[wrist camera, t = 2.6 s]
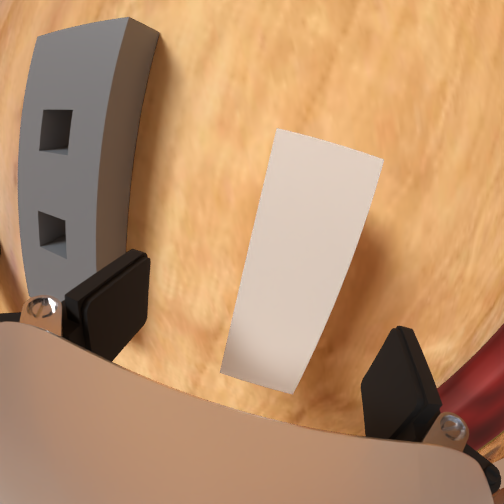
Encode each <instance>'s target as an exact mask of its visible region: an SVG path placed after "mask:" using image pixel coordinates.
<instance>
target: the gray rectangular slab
mask: <svg viewBox="0 0 504 504" xmlns="http://www.w3.org/2000/svg"><path fill="white" fill-rule="evenodd" d="M159 33H160V32H158V31H156V30H154V29H152V28H150V27H148V26H146V25H144V24H142V23H140V22H138V21H136V20H134V19H132V18H130V17H126V18H118V19H111V20H105V21H100V22H94V23H89V24H84V25H80V26H75V27H71V28H67V29H63V30H59V31H55V32H52V33H48V34H45V35H42V36H38V37H37V41H36V44H35V48H34V52H33V56H32V60H31V65H30V69H29V74H28V79H27V85H26V90H25V96H24V103H23V110H22V118H21V127H20V139H19V155H18V210H19V226H20V238H21V247H22V256H23V263H24V270H25V276H26V282H27V288H28V293H29V296H30V297H31V298H32V297H35V296H38V295H50V296H53V297H55V298H57V299H59V301H60V302H62V301H63V300H65V296H64V295H65V294H66V293H68V292H69V291H70V290H72V289H73V288H75V287H76V286H78V285H79V284H80V283H82V282H83V281H85V280H86V279H88V278H89V277H91V276H92V275H93V274H95V273H96V272H98V271H99V270H101V269H102V268H104V267H105V266H107V265H108V264H110V263H111V262H113V261H114V260H116V259H117V258H119V257H120V256H122V255H123V254H125V253H126V238H127V221H128V208H129V196H130V186H131V177H132V168H133V160H134V153H135V146H136V139H137V133H138V127H139V121H140V115H141V110H142V105H143V99H144V94H145V90H146V85H147V80H148V76H149V72H150V67H151V63H152V59H153V55H154V51H155V48H156V44H157V40H158V37H159Z"/></svg>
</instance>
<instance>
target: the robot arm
mask: <svg viewBox="0 0 504 504" xmlns="http://www.w3.org/2000/svg"><path fill="white" fill-rule="evenodd" d="M149 275H150V258H147V254H146V253H144V252H141V251H138V250H135V249H131V250H130V251H128V252H126V253H125V254H123V255H122V256H120V257H119V258H117V259H116V260H114V261H113V262H111V263H110V264H108V265H107V266H105V267H104V268H102V269H101V270H99V271H98V272H96V273H95V274H93V275H92V276H91V277H89V278H88V279H86V280H85V281H83V282H82V283H80V284H79V285H78V286H76V287H75V288H73V289H72V290H70V291H69V292H68V293H66V294H65V295H64V296H65V300H63V301H62V302H60V301H59V299H57V298H55V297H53V296H50V295H38V296H35V297H32V298H30V299H28V300H27V301H26V302H25V303H24V305H23V307H22V312H19V313H2V314H0V504H504V488H502V489H501V490H500V489H499V487H500V484H501V476H500V473H499V470H498V469H497V467H495V466H494V465H493V464H492V463H491V462H489V461H488V460H487V459H485V458H484V457H483V456H482V455H480V454H479V453H478V452H477V451H475V450H474V449H473V448H472V447H470V446H469V445H468V444H467V440H468V437H469V429H468V427H467V424H466V423H465V422H464V420H463V419H462V418H461V417H460V416H458V415H456V414H454V413H451V412H443V413H441V412H440V408H441V406H442V405H443V404H442V401H441V399H440V396H439V393H438V390H437V388H436V385H435V382H434V380H433V377H432V374H431V372H430V369H429V367H428V364H427V362H426V359H425V357H424V354H423V352H422V350H421V347H420V345H419V343H418V340H417V338H416V336H415V333H414V331H413V329H411V328H407V327H403V326H397V327H396V329H395V328H393V329H392V330H391V331H390V333H389V335H388V337H387V338H386V340H385V342H384V344H383V346H382V348H381V349H380V351H379V353H378V355H377V356H376V358H375V360H374V361H373V363H372V365H371V367H370V368H369V370H368V372H367V373H366V375H365V376H364V378H363V380H362V383H361V393H362V402H363V412H364V422H365V434H366V437H364V436H357V435H350V434H343V433H337V432H331V431H325V430H320V429H315V428H309V427H305V426H300V425H295V424H291V423H286V422H282V421H278V420H274V419H270V418H266V417H262V416H258V415H254V414H251V413H247V412H244V411H240V410H237V409H233V408H230V407H227V406H224V405H220V404H217V403H214V402H211V401H208V400H205V399H202V398H199V397H196V396H194V395H191V394H188V393H185V392H182V391H180V390H177V389H174V388H172V387H169V386H167V385H164V384H162V383H159V382H157V381H154V380H152V379H149V378H147V377H145V376H142V375H140V374H138V373H135V372H133V371H131V370H129V369H126V368H124V367H122V366H120V365H118V364H115V363H113V362H112V361H113V360H114V359H115V357H116V356H117V355H118V354H119V353H120V352H121V350H122V349H123V348H124V347H125V346H126V345H127V343H128V342H129V341H130V340H131V339H132V338H133V337H134V335H135V334H136V333H137V332H138V331H139V330H140V329H141V327H142V326H143V325H144V324H145V322H146V319H147V310H148V290H149Z"/></svg>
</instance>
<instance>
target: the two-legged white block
mask: <svg viewBox="0 0 504 504" xmlns="http://www.w3.org/2000/svg"><path fill="white" fill-rule="evenodd" d="M383 162H384V159H381V158H378V157H375V156H372V155H369V154H366V153H363V152H360V151H357V150H354V149H351V148H348V147H345V146H341V145H338V144H335V143H331V142H328V141H325V140H321V139H317V138H314V137H310V136H306V135H303V134H299V133H295V132H291V131H287V130H283V129H278V128H277V130H276V134H275V138H274V142H273V146H272V151H271V155H270V159H269V163H268V168H267V172H266V176H265V180H264V184H263V189H262V193H261V197H260V201H259V206H258V210H257V214H256V218H255V223H254V227H253V231H252V236H251V240H250V244H249V248H248V253H247V257H246V261H245V266H244V270H243V274H242V278H241V283H240V287H239V291H238V296H237V300H236V304H235V309H234V313H233V317H232V322H231V326H230V330H229V335H228V339H227V343H226V348H225V352H224V357H223V361H222V365H221V370H220V373H222V374H225V375H228V376H231V377H234V378H237V379H240V380H244V381H247V382H250V383H253V384H257V385H260V386H263V387H267V388H270V389H274V390H278V391H281V392H285V393H289V394H293V393H294V391H295V389H296V387H297V385H298V383H299V381H300V379H301V377H302V375H303V373H304V371H305V369H306V367H307V365H308V363H309V360H310V358H311V356H312V354H313V352H314V350H315V347H316V345H317V343H318V341H319V339H320V336H321V334H322V332H323V330H324V327H325V325H326V323H327V320H328V318H329V316H330V313H331V311H332V309H333V306H334V304H335V301H336V299H337V296H338V294H339V291H340V289H341V286H342V284H343V281H344V279H345V276H346V274H347V271H348V268H349V266H350V263H351V260H352V258H353V255H354V252H355V249H356V247H357V244H358V241H359V238H360V235H361V232H362V230H363V227H364V224H365V221H366V218H367V215H368V212H369V208H370V205H371V202H372V199H373V196H374V193H375V189H376V186H377V183H378V179H379V176H380V172H381V169H382V165H383Z"/></svg>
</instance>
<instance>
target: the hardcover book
mask: <svg viewBox="0 0 504 504" xmlns="http://www.w3.org/2000/svg"><path fill="white" fill-rule="evenodd" d="M437 390H438V393H439V396H440V399H441V401H442V404H443V405H442V406H441V408H440V412H441V413H443V412H451V413H454V414H456V415H458V416H460V417H461V418H462V419H463V420H464V422H465V423H466V424H467V427H468V429H469V437H468V440H467V444H468V445H469V446H470V447H472V448H473V449H474V450H475V451H477V452H478V451H479V450H481V449H482V448H483V447H485V446H486V445H488V444H489V443H490V442H492V441H493V440H494V439H496V438H497V437H498V436H500V435H501V434H502V433H503V432H504V324H503V325H502V326H501V327H500V328H499V330H498V331H497V332H496V333H495V334H494V335H493V336H492V337H491V338H490V339H489V340H488V342H487V343H486V344H485V345H484V346H483V347H482V348H481V349H480V350H479V351H478V352H477V353H476V354H475V355H474V356H473V357H472V358H471V359H470V360H469V361H468V362H467V363H466V364H464V365H463V366H462V367H461V368H460V369H459V370H458V371H457V372H456V373H455V374H454V375H452V376H451V377H450V378H449V379H448V380H447V381H446V382H444V383H443V384H442V385H441V386H440V387H439V388H437Z"/></svg>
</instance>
